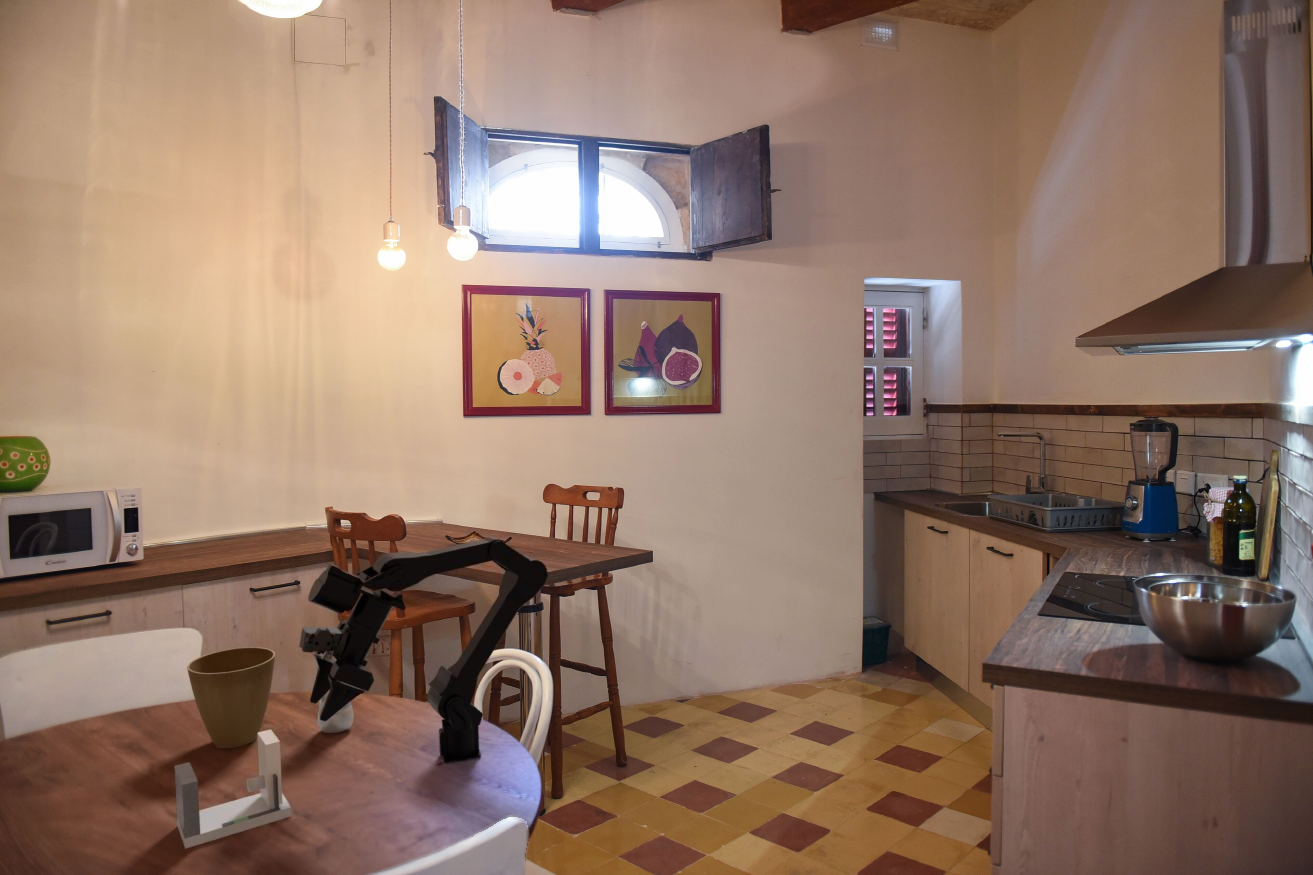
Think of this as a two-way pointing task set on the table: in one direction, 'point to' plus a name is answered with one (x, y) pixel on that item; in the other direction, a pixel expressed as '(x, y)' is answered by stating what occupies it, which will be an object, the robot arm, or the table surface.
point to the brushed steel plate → (187, 800)
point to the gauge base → (235, 818)
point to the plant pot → (232, 692)
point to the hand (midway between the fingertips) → (317, 711)
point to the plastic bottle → (335, 717)
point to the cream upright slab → (268, 770)
